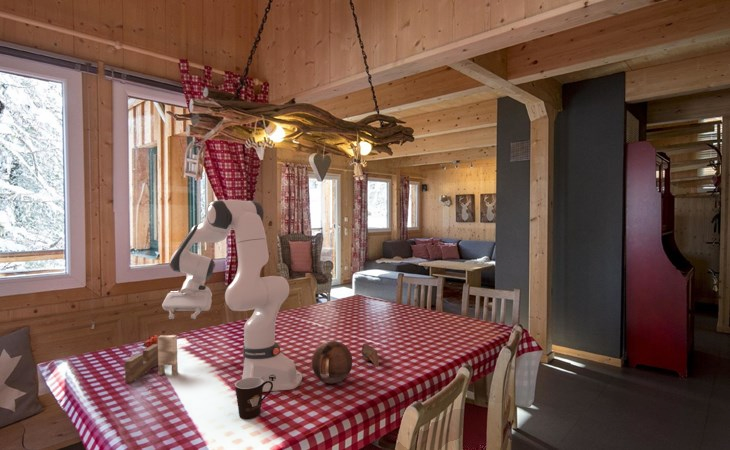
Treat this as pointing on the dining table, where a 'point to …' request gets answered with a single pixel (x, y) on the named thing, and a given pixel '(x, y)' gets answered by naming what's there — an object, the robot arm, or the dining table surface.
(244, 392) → the coffee mug
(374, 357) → the bird sculpture
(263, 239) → the robot arm
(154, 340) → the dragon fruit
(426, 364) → the dining table surface
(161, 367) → the ash slotted plate
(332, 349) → the wooden sphere
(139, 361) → the walnut slotted plate
